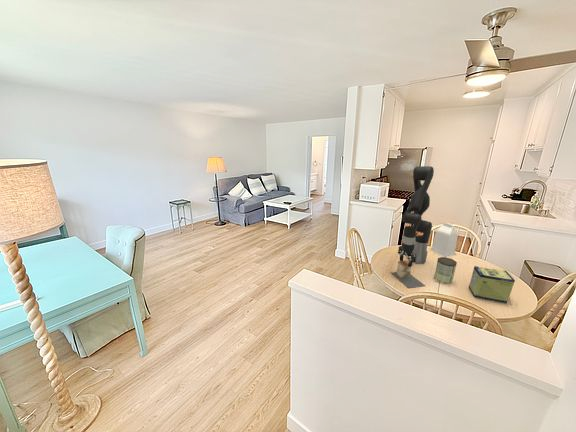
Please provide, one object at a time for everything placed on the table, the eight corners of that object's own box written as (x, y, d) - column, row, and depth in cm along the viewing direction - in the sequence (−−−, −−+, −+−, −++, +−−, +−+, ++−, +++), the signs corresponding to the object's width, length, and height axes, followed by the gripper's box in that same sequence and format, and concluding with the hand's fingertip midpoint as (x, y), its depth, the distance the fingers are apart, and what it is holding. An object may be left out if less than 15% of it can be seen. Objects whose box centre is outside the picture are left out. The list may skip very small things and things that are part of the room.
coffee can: (432, 274, 155) (435, 256, 150) (449, 276, 151) (453, 258, 147) (436, 282, 145) (440, 263, 141) (454, 285, 142) (459, 265, 138)
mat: (406, 271, 159) (406, 270, 159) (425, 286, 142) (425, 285, 142) (391, 273, 157) (391, 272, 157) (408, 288, 140) (408, 287, 140)
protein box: (507, 303, 125) (515, 280, 120) (473, 297, 131) (480, 274, 126) (499, 292, 134) (506, 270, 129) (468, 287, 140) (473, 265, 135)
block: (405, 272, 156) (407, 260, 153) (409, 276, 152) (411, 263, 149) (396, 273, 155) (398, 261, 152) (400, 277, 151) (402, 264, 148)
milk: (431, 251, 188) (436, 222, 180) (440, 248, 192) (446, 220, 184) (445, 257, 177) (451, 227, 169) (454, 254, 181) (461, 224, 173)
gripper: (421, 246, 140) (417, 268, 145) (406, 237, 153) (403, 258, 158) (410, 247, 139) (407, 269, 144) (396, 238, 152) (393, 259, 157)
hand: (405, 263), depth 151 cm, fingers open, 8 cm apart
